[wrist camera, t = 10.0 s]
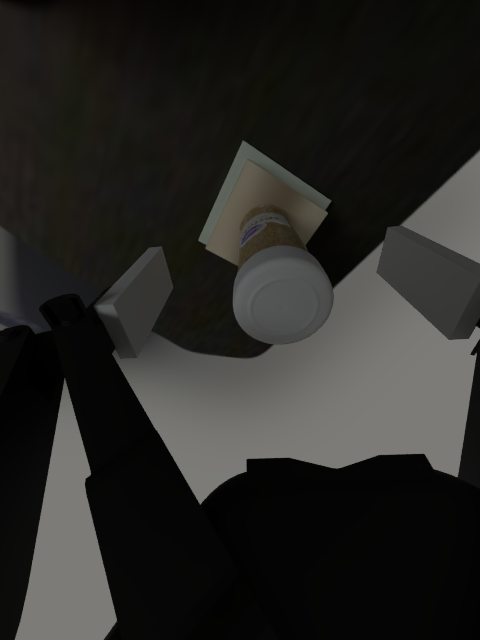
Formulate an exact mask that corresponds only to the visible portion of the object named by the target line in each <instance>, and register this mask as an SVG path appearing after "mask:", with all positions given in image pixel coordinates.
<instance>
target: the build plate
mask: <svg viewBox="0 0 480 640" xmlns="http://www.w3.org/2000/svg"><path fill="white" fill-rule="evenodd" d="M247 159H248V160H250V161H251V162H253V163H254V164H256V165H257V166H259V167H260V168H262V169H263V170H265V171H266V172H268V173H269V174H271V175H272V176H274V177H275V178H277V179H278V180H280V181H281V182H283V183H284V184H286V185H287V186H289V187H290V188H292V189H293V190H295V191H296V192H298V193H299V194H301V195H302V196H304V197H305V198H307V199H308V200H310V201H311V202H313V203H314V204H316V205H317V206H319V207H320V208H322V209H323V210H326V208H327V207H328V205H329V204H330V202H331V200H329V199H328V198H326V197H325V196H323V195H322V194H321V193H319V192H318V191H316V190H315V189H313V188H312V187H310V186H309V185H307V184H306V183H305V182H303V181H302V180H300V179H299V178H297V177H296V176H294V175H293V174H291V173H290V172H288V171H287V170H286V169H284V168H283V167H281V166H280V165H278V164H277V163H275V162H274V161H272V160H271V159H270V158H268V157H267V156H265V155H264V154H262V153H261V152H259V151H258V150H256V149H255V148H254V147H252V146H251V145H249V144H248V143H246V142H245V141H243V142H242V144H241V146H240V149H239V151H238V153H237V155H236V157H235V160H234V162H233V164H232V166H231V169H230V171H229V173H228V175H227V178H226V180H225V182H224V184H223V186H222V189H221V191H220V193H219V195H218V198H217V200H216V202H215V204H214V206H213V209H212V211H211V213H210V215H209V218H208V220H207V222H206V224H205V226H204V229H203V231H202V233H201V235H200V238H199V240H198V241H200V242H202V243H204V244H206V245H207V244H208V241H209V239H210V237H211V235H212V232H213V230H214V228H215V226H216V224H217V222H218V220H219V218H220V216H221V213H222V211H223V209H224V207H225V205H226V203H227V201H228V199H229V197H230V194H231V192H232V190H233V188H234V186H235V184H236V182H237V180H238V178H239V175H240V173H241V171H242V169H243V167H244V165H245V163H246V161H247Z"/></svg>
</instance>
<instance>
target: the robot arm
mask: <svg viewBox="0 0 480 640" xmlns="http://www.w3.org/2000/svg"><path fill="white" fill-rule="evenodd" d="M377 273H378V274H379V275H380V276H381V277H382V278H383V279H384V280H385V281H387V282H388V283H389V284H390V285H391V286H392V287H393V288H394V289H395V290H396V291H397V292H398V293H399V294H400V295H401V296H403V297H404V298H405V299H406V300H407V301H408V302H409V303H410V304H411V305H412V306H413V307H414V308H416V309H417V310H418V311H419V312H420V313H421V314H422V315H423V316H424V317H425V318H426V319H427V320H428V321H430V322H431V323H432V324H433V325H434V326H435V327H436V328H437V329H438V330H439V331H440V332H441V333H442V334H443V335H445V336H446V337H447V338H448V339H449V340H453V339H469V337H470V336H471V334H472V332H473V331H474V329H475V327H476V326H477V327H479V328H480V264H479V263H477V262H475V261H473V260H471V259H469V258H467V257H465V256H463V255H461V254H458V253H456V252H454V251H452V250H450V249H448V248H446V247H444V246H442V245H440V244H438V243H436V242H434V241H432V240H430V239H428V238H426V237H423V236H422V235H419V234H417V233H415V232H413V231H411V230H409V229H407V228H405V227H403V226H395V227H388V228H387V232H386V236H385V240H384V244H383V249H382V253H381V257H380V261H379V265H378V269H377ZM172 289H173V285H172V282H171V278H170V275H169V271H168V267H167V264H166V260H165V256H164V253H163V249H162V247H152V248H149V249H148V250H147V251H146V252H145V253H144V254H143V255H142V256H141V257H140V258H139V259H138V260H137V261H136V262H135V263H134V264H133V265H132V266H131V267H130V268H129V269H128V270H127V272H126V273H125V274H124V275H123V276H122V277H121V278H120V279H119V280H118V281H117V282H116V283H115V284H114V285H113V286H111V287H109V288H108V289H106V290H104V291H103V292H102V293H101V294H100V295H99V297H97V298H96V299H95V300H94V302H92V303H91V304H90V305H89V306H88V307H87V308H85V306H84V304H83V302H82V300H81V299H80V297H79V295H77V294H65V295H61V296H58V297H55V298H53V299H50V300H48V301H46V302H45V303H44V304H42V305H41V306H40V308H39V311H40V312H41V313H42V315H43V317H44V318H45V319H46V321H47V322H48V324H49V325H50V327H51V329H52V330H51V331H47V332H43V333H39V334H35V333H34V332H33V331H32V329H31V328H30V327H29V326H27V325H20V326H14V327H11V328H6V329H4V330H3V331H0V640H15V637H16V633H17V630H18V627H19V623H20V619H21V615H22V611H23V606H24V602H25V597H26V593H27V588H28V583H29V577H30V572H31V566H32V560H33V554H34V549H35V543H36V537H37V532H38V526H39V520H40V515H41V509H42V503H43V498H44V492H45V486H46V481H47V475H48V469H49V464H50V458H51V452H52V446H53V440H54V435H55V429H56V423H57V418H58V412H59V407H60V401H61V395H62V390H63V384H64V378H65V380H66V383H67V387H68V390H69V394H70V398H71V401H72V405H73V408H74V412H75V416H76V419H77V423H78V426H79V430H80V434H81V437H82V441H83V445H84V448H85V452H86V455H87V459H88V463H89V466H90V470H91V475H90V476H89V477H88V478H86V482H85V488H86V494H87V498H88V502H89V507H90V511H91V514H92V519H93V523H94V527H95V531H96V535H97V539H98V543H99V548H100V551H101V556H102V560H103V564H104V568H105V572H106V576H107V581H108V585H109V589H110V593H111V597H112V601H113V605H114V609H115V613H116V618H117V622H116V623H115V625H114V626H113V628H112V629H111V631H110V632H109V633H108V635H107V636H106V637H105V639H104V640H480V340H479V341H478V343H477V344H476V346H475V347H474V349H473V351H472V352H471V355H475V354H476V353H477V357H476V363H475V370H474V376H473V383H472V389H471V396H470V402H469V409H468V415H467V422H466V429H465V435H464V442H463V449H462V455H461V461H460V468H459V474H458V477H455V476H452V475H450V474H447V473H444V472H441V471H438V470H434V469H433V468H432V466H431V464H430V463H429V461H428V459H427V458H426V456H425V454H406V455H405V454H404V455H378V456H376V457H372V458H370V459H366V460H363V461H360V462H358V463H355V464H352V465H348V466H345V467H343V468H338V469H335V468H329V467H325V466H321V465H317V464H313V463H309V462H304V461H300V460H296V459H292V458H265V459H247V472H244V473H241V474H238V475H236V476H234V477H232V478H230V479H229V480H227V481H225V482H224V483H223V484H221V485H219V486H218V487H217V488H216V489H215V490H214V491H213V492H211V494H209V496H208V497H207V498H206V499H205V500H204V501H203V502H202V503H201V505H200V504H199V502H198V500H197V499H196V497H195V495H194V494H193V492H192V490H191V489H190V487H189V485H188V483H187V481H186V480H185V478H184V476H183V475H182V473H181V471H180V469H179V468H178V466H177V464H176V462H175V461H174V459H173V457H172V456H171V454H170V452H169V451H168V449H167V447H166V446H165V444H164V442H163V440H162V438H161V437H160V435H159V433H158V432H157V431H156V430H155V428H154V427H153V425H152V423H151V421H150V419H149V417H148V416H147V414H146V412H145V411H144V409H143V407H142V405H141V404H140V402H139V400H138V398H137V397H136V395H135V393H134V391H133V390H132V388H131V386H130V385H129V383H128V381H127V379H126V378H125V376H124V374H123V372H122V371H121V369H120V367H119V365H118V364H117V362H116V360H115V358H114V357H113V355H112V353H113V351H114V350H115V349H116V351H117V353H118V355H119V357H120V358H137V357H138V355H139V353H140V351H141V349H142V347H143V345H144V343H145V341H146V339H147V337H148V335H149V333H150V332H151V330H152V328H153V326H154V324H155V322H156V320H157V318H158V316H159V314H160V312H161V310H162V308H163V306H164V304H165V302H166V300H167V299H168V297H169V295H170V293H171V291H172Z"/></svg>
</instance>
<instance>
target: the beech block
mask: <svg viewBox="0 0 480 640" xmlns="http://www.w3.org/2000/svg"><path fill="white" fill-rule="evenodd" d="M263 204H269V205H273V206H276V207H278V208H279V209H281V210H282V211H283V212H284V213H285V214H286V216H287V218H288V220H289V223H290V225H291V226H292V227H293V228H294V229H295V231H296V232H297V234H298V235H299V237H300V238H301V240H302V241H303V243H304V244H305V245H306V244H307V242H308V241H309V240H310V238H311V237H312V235H313V234H314V233H315V231H316V230H317V228H318V227H319V225H320V224H321V223H322V221H323V220H324V218H325V217H326V215H327V214H328V213H327V212H326V211H325V210H323V209H322V208H320V207H319V206H317V205H316V204H314V203H313V202H311V201H310V200H308V199H307V198H305V197H304V196H302V195H301V194H299V193H298V192H296V191H295V190H293V189H292V188H290V187H289V186H287V185H286V184H284V183H283V182H281V181H280V180H278V179H277V178H275V177H274V176H272V175H271V174H269V173H268V172H266V171H265V170H263V169H262V168H260V167H259V166H257V165H256V164H254V163H253V162H251V161H250V160H248V159H247V161H246V163H245V165H244V167H243V169H242V171H241V173H240V175H239V178H238V180H237V182H236V184H235V186H234V188H233V190H232V192H231V194H230V197H229V199H228V201H227V203H226V205H225V207H224V209H223V211H222V213H221V216H220V218H219V220H218V222H217V224H216V226H215V228H214V230H213V232H212V235H211V237H210V239H209V241H208V244H207V246H206V248H205V249H207V250H209V251H211V252H213V253H215V254H217V255H218V256H220V257H222V258H224V259H226V260H228V261H230V262H232V263H233V264H235V265H237V266H238V261H239V258H238V250H239V238H240V235H239V229H240V225H241V221H242V219H243V217H244V216H245V214H246V213H247V212H248V211H249V210H251V209H252V208H254V207H256V206H259V205H263Z"/></svg>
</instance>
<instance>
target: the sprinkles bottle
mask: <svg viewBox="0 0 480 640" xmlns="http://www.w3.org/2000/svg"><path fill="white" fill-rule="evenodd" d="M239 235H240V238H239V250H238V258H239V261H238V266H239V267H238V274H237V276H236V279H235V283H234V291H233V310H234V314H235V317H236V319H237V322H238V323H239V325H240V326H241V328H242V329H243V330H244V331H245V332H246V333H247V334H249V335H250V336H251V337H253V338H255V339H257V340H259V341H262V342H265V343H269V344H289V343H294V342H298V341H300V340H303V339H305V338H307V337H309V336H310V335H312V334H313V333H315V332H316V331H317V330H318V329H319V328H320V327H321V326H322V325H323V324H324V323H325V321H326V320H327V318H328V316H329V315H330V312H331V309H332V306H333V296H334V295H333V288H332V285H331V282H330V280H329V278H328V276H327V274H326V273H325V271H324V269H323V268H322V266H321V265H320V263H319V262H318V261H317V260H316V258H315V257H313V256H312V255H311V254H310V253H308V251H307V248H306V246H305V244H304V243H303V241H302V240H301V238H300V237H299V235H298V234H297V232H296V231H295V229H294V228H293V227H292V226H291V225H290V223H289V220H288V218H287V216H286V214H285V213H284V212H283V211H282V210H281V209H279V208H278V207H276V206H273V205H269V204H263V205H259V206H256V207H254V208H252V209H251V210H249V211H248V212H247V213H246V214H245V216H244V217H243V219H242V221H241V225H240V229H239Z"/></svg>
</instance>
